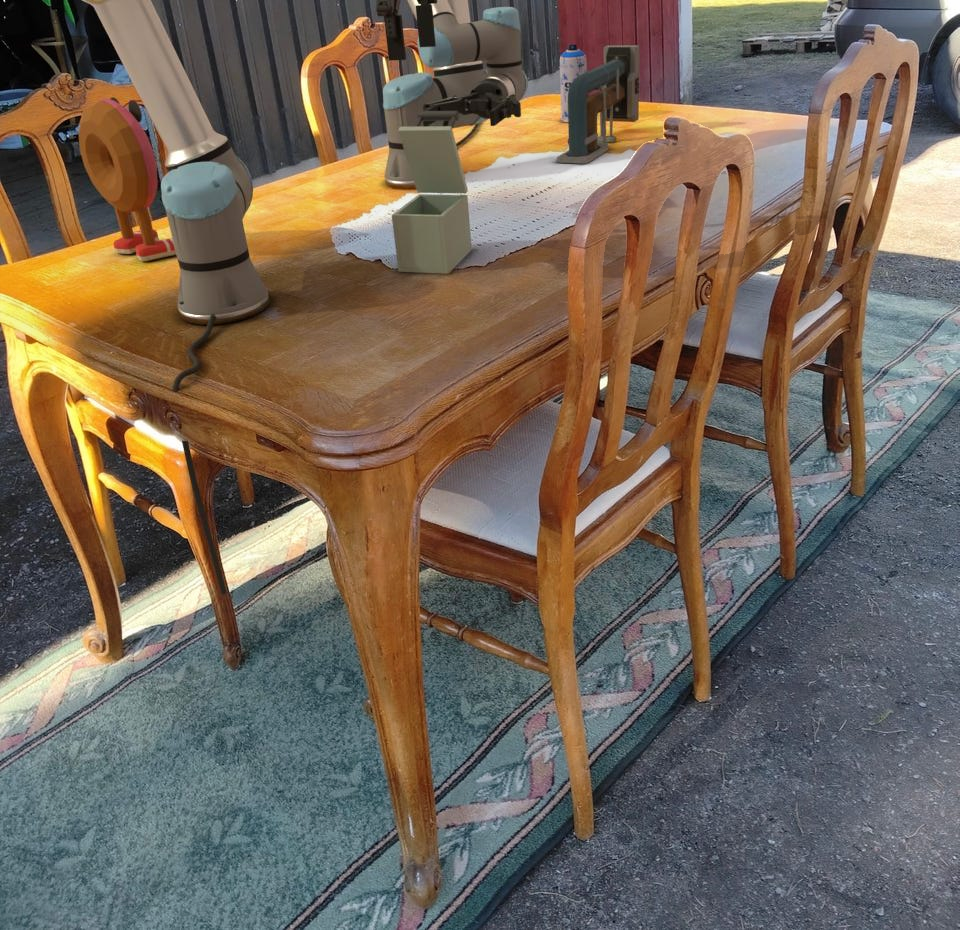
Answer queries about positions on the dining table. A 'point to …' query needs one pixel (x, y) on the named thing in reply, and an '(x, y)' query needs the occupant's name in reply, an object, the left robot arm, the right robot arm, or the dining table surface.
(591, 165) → the dining table surface
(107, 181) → the toy
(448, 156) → the lid
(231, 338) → the dining table surface
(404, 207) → the chest
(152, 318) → the dining table surface
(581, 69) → the aerosol can
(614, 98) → the clamp
